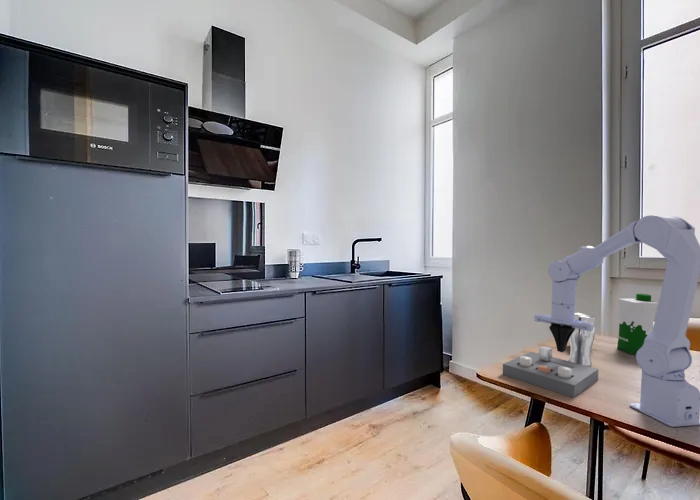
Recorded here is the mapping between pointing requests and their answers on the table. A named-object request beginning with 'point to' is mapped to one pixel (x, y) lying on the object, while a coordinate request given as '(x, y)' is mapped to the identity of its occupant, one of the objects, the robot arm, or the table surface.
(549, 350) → the slider knob
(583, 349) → the beer glass
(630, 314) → the milk carton
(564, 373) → the near button
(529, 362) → the far button
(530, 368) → the control panel
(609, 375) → the table surface
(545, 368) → the middle button
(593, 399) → the table surface
